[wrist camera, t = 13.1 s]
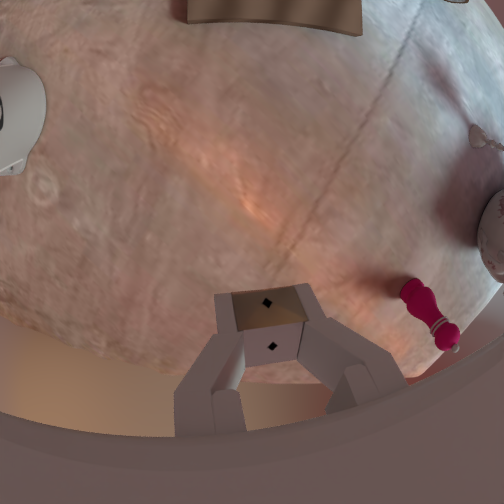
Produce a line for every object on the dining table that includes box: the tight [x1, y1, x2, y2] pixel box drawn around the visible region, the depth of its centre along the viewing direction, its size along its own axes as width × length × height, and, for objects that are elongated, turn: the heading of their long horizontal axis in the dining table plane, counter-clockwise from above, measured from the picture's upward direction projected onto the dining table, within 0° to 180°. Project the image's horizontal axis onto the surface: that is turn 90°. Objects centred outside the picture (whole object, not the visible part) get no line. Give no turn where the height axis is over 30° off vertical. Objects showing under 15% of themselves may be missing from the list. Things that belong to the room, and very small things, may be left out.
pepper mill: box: [400, 279, 460, 353], centre depth 48 cm, size 7×7×20 cm
